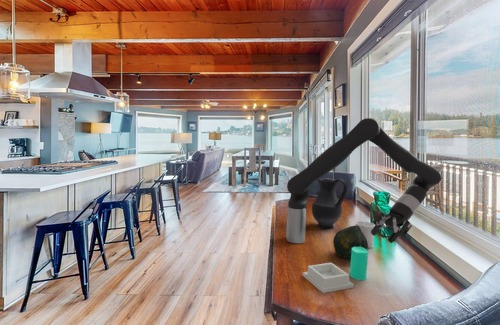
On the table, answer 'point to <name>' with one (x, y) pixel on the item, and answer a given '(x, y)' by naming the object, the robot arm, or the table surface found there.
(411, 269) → the table surface
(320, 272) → the candle stand
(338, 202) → the pitcher
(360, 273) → the candle
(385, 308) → the table surface
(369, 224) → the mug
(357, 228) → the squash
